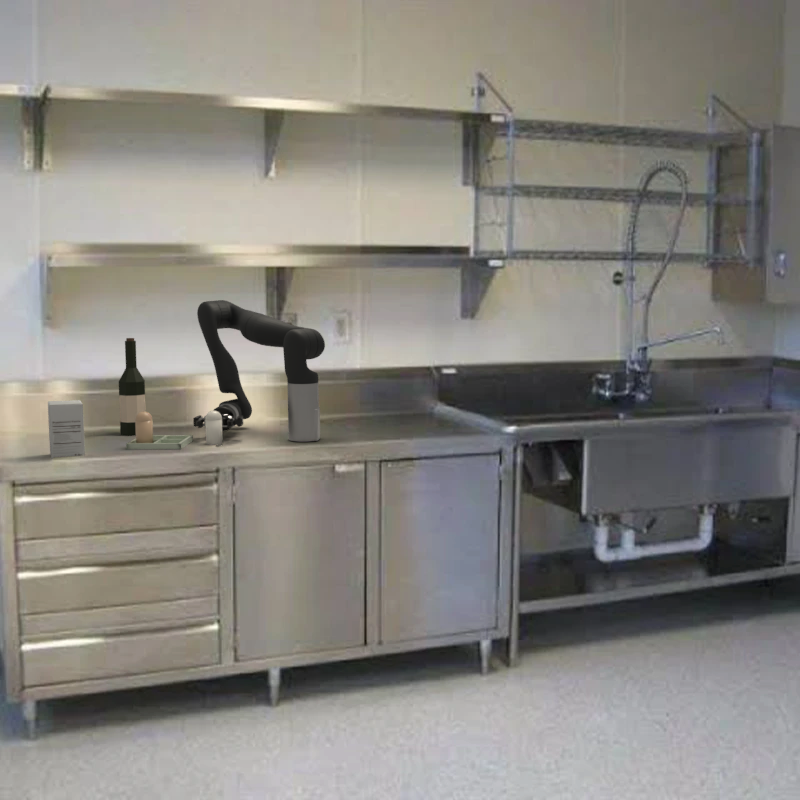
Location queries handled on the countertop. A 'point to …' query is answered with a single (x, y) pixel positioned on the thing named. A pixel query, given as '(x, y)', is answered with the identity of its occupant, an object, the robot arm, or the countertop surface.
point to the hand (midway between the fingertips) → (213, 424)
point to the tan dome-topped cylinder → (144, 427)
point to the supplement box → (66, 428)
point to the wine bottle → (130, 391)
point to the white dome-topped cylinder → (213, 428)
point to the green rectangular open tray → (162, 442)
